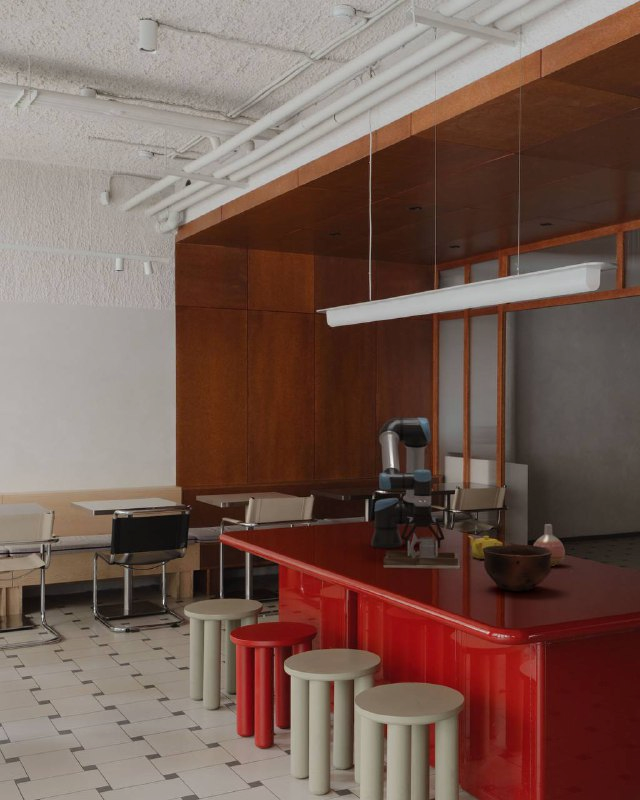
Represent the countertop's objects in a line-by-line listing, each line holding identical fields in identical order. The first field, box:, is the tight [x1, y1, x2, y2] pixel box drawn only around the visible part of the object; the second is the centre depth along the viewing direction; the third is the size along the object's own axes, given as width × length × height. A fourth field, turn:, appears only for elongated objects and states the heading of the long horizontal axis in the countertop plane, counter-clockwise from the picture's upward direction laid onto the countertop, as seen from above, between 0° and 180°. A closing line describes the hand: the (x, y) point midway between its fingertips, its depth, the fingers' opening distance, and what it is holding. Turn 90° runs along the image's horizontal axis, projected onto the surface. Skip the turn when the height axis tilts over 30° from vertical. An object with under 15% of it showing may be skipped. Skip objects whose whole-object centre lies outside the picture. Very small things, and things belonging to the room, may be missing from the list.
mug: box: [409, 532, 436, 558], centre depth 392 cm, size 8×12×12 cm, turn 101°
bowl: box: [483, 544, 552, 592], centre depth 335 cm, size 25×25×15 cm
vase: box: [532, 523, 566, 566], centre depth 387 cm, size 14×14×18 cm
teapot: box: [467, 535, 503, 560], centre depth 406 cm, size 14×13×10 cm
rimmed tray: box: [383, 550, 461, 570], centre depth 392 cm, size 20×32×4 cm, turn 83°
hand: (422, 555), depth 392 cm, fingers closed on mug, 11 cm apart
